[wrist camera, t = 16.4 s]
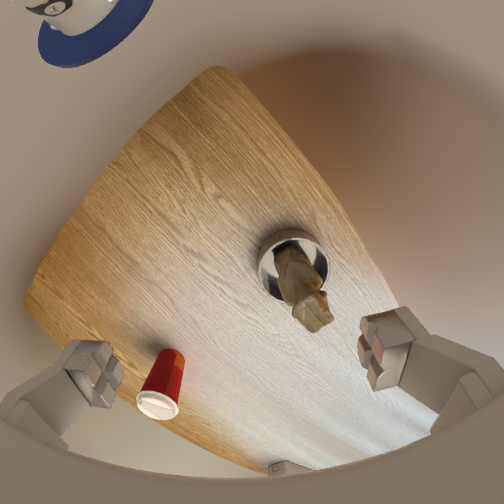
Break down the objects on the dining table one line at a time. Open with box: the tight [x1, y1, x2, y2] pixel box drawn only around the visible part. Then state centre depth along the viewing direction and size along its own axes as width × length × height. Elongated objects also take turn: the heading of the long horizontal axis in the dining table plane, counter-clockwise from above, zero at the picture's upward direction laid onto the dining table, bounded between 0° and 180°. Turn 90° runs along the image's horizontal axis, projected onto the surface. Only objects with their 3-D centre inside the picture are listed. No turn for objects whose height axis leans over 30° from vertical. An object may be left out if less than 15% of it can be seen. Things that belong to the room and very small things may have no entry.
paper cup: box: [136, 349, 185, 420], centre depth 45 cm, size 8×8×14 cm
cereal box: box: [268, 461, 313, 476], centre depth 61 cm, size 22×8×25 cm, turn 42°
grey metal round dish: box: [258, 229, 330, 303], centre depth 42 cm, size 11×11×4 cm
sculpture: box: [273, 245, 334, 333], centre depth 36 cm, size 6×7×15 cm
